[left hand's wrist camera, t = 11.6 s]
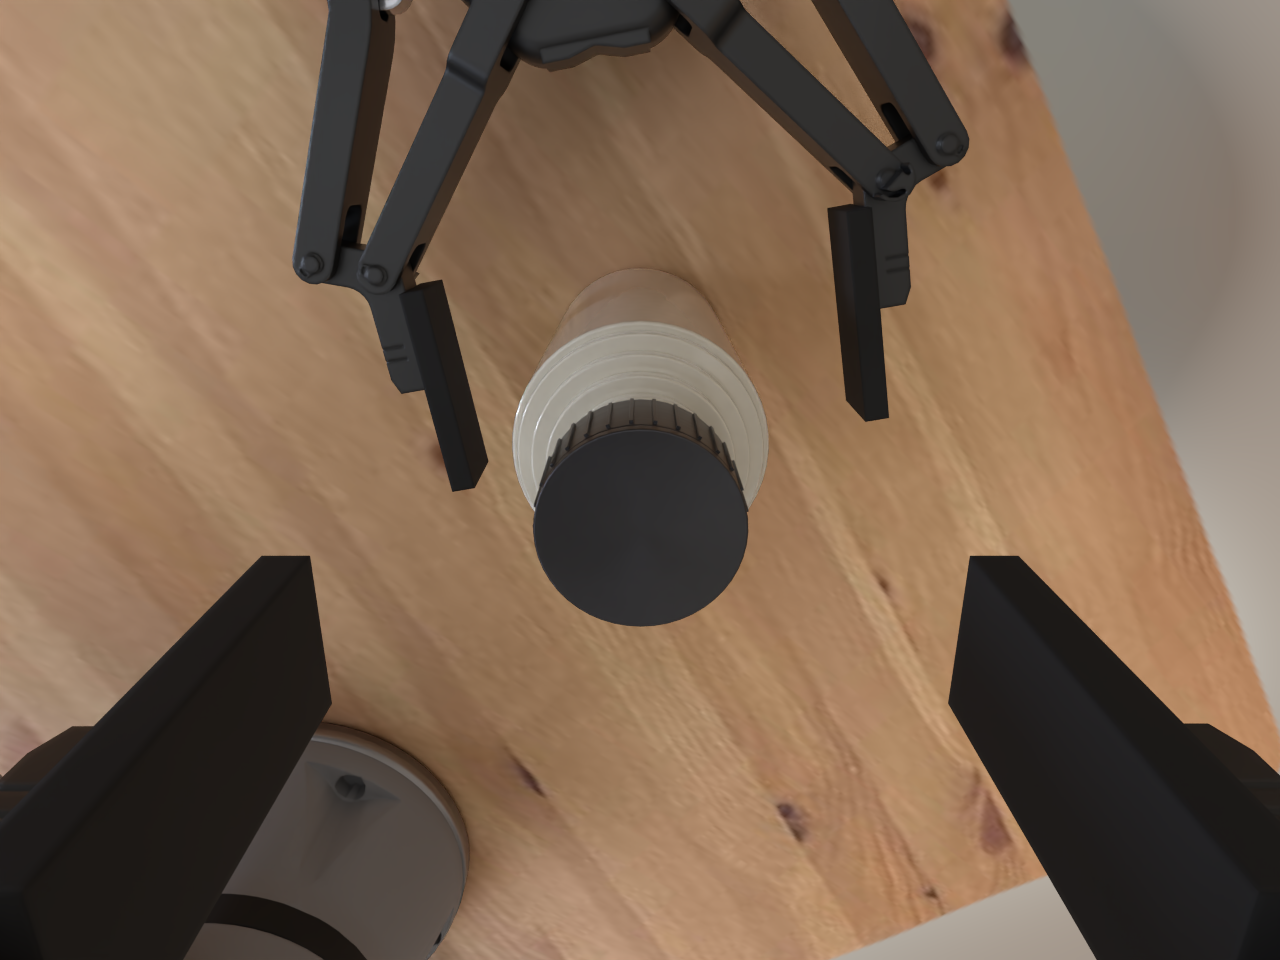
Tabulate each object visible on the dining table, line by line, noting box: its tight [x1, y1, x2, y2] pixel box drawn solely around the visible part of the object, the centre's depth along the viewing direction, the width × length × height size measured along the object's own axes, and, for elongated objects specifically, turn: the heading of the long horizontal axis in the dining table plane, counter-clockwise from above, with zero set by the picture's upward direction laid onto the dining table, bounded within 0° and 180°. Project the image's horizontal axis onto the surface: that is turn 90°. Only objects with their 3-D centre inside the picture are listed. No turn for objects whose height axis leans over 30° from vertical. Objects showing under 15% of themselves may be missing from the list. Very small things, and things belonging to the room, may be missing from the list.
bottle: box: [512, 268, 769, 512], centre depth 26 cm, size 7×7×18 cm
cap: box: [533, 398, 748, 627], centre depth 18 cm, size 4×4×2 cm
